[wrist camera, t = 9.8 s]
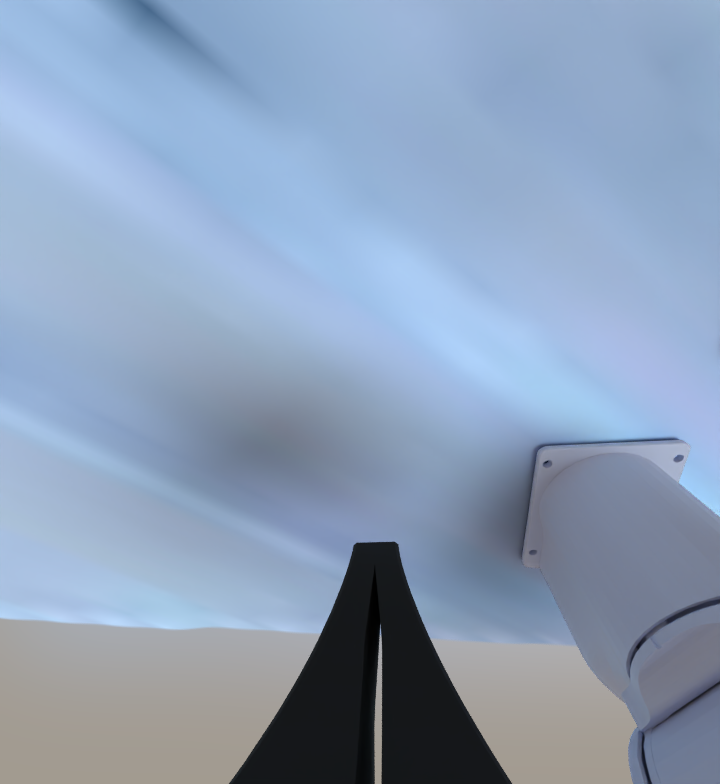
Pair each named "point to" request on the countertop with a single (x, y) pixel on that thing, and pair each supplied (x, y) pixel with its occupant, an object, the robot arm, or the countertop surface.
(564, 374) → the countertop surface
